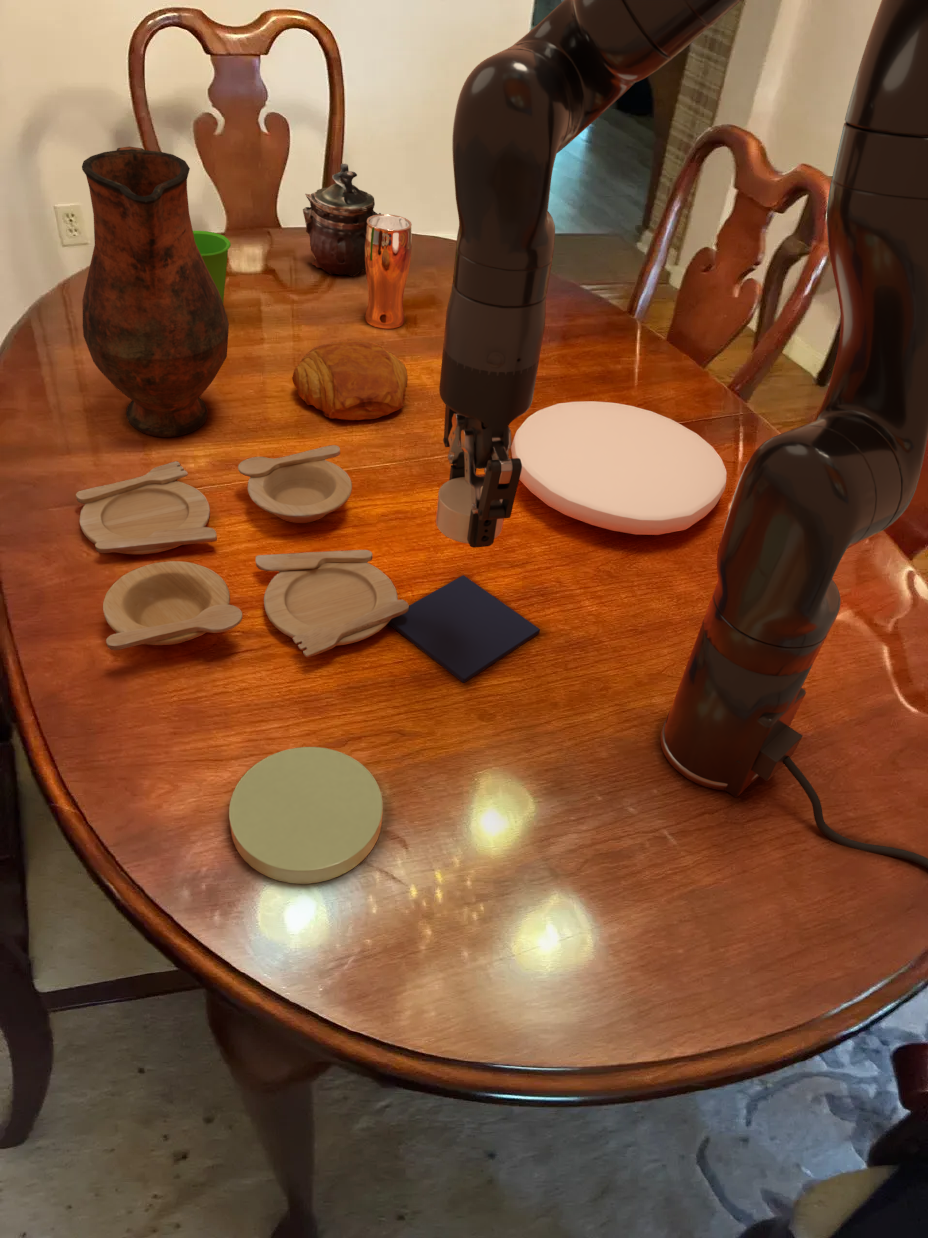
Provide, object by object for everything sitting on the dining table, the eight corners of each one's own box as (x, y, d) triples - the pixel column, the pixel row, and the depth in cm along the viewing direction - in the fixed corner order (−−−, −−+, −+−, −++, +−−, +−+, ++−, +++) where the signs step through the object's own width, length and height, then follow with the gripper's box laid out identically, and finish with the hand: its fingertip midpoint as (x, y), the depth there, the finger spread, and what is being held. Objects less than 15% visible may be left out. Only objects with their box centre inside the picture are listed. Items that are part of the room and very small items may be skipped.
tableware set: (76, 488, 104) (68, 457, 101) (329, 456, 113) (329, 427, 111) (105, 709, 80) (97, 676, 77) (423, 645, 90) (426, 614, 87)
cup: (162, 320, 137) (152, 245, 129) (192, 298, 143) (185, 225, 136) (217, 333, 135) (211, 258, 128) (246, 310, 142) (241, 238, 135)
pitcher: (103, 457, 109) (53, 190, 89) (93, 372, 124) (49, 126, 104) (245, 444, 114) (228, 189, 94) (220, 364, 129) (200, 128, 109)
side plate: (412, 824, 75) (413, 811, 74) (293, 914, 68) (292, 900, 67) (319, 738, 81) (318, 724, 79) (200, 812, 74) (198, 798, 72)
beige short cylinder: (516, 527, 83) (521, 499, 81) (469, 552, 79) (473, 524, 77) (468, 496, 85) (471, 468, 83) (421, 519, 82) (424, 491, 80)
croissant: (292, 388, 130) (282, 335, 124) (400, 370, 132) (395, 317, 127) (306, 440, 119) (296, 384, 114) (423, 419, 122) (419, 363, 116)
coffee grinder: (317, 291, 150) (317, 173, 138) (298, 255, 160) (297, 143, 148) (392, 288, 154) (398, 173, 142) (370, 254, 164) (373, 144, 152)
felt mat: (539, 633, 94) (540, 629, 93) (463, 683, 87) (464, 679, 87) (462, 579, 99) (463, 574, 98) (385, 622, 93) (386, 618, 92)
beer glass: (356, 312, 145) (358, 214, 135) (397, 309, 148) (402, 212, 138) (371, 332, 141) (375, 231, 131) (413, 327, 143) (420, 229, 133)
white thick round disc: (531, 377, 125) (728, 416, 122) (523, 422, 128) (714, 460, 126) (499, 465, 102) (740, 514, 100) (490, 516, 106) (722, 564, 104)
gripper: (569, 388, 67) (534, 568, 78) (510, 304, 77) (486, 474, 88) (471, 393, 65) (449, 577, 76) (422, 305, 75) (410, 479, 86)
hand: (469, 521), depth 82 cm, fingers closed on beige short cylinder, 6 cm apart
